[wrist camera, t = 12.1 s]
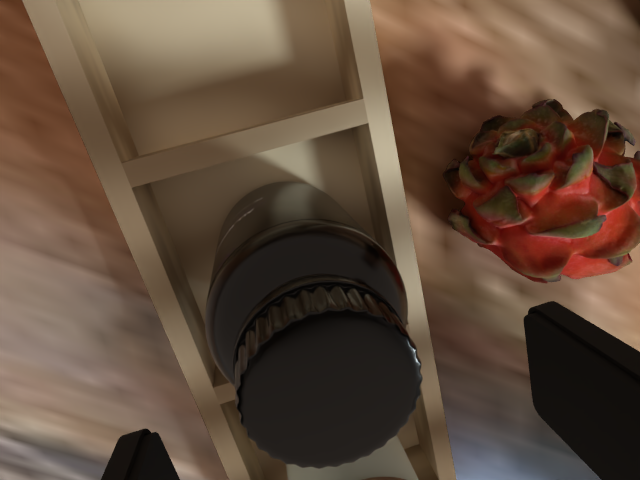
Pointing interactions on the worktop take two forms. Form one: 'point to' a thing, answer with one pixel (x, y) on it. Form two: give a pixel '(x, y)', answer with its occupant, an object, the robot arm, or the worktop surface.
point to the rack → (236, 160)
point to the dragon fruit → (550, 193)
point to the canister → (363, 467)
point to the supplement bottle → (310, 328)
